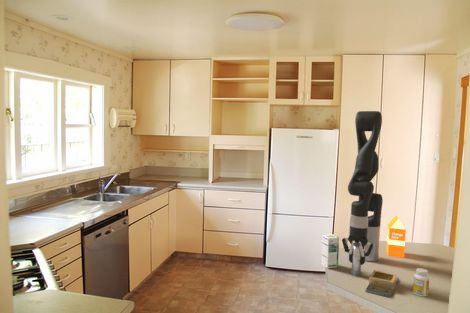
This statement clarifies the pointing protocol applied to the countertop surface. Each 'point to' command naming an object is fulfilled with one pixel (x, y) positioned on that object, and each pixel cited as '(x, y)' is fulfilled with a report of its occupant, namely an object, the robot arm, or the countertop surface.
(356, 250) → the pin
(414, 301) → the countertop surface
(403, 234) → the orange juice
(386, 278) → the bolted socket base
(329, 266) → the syrup box
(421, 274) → the supplement bottle
